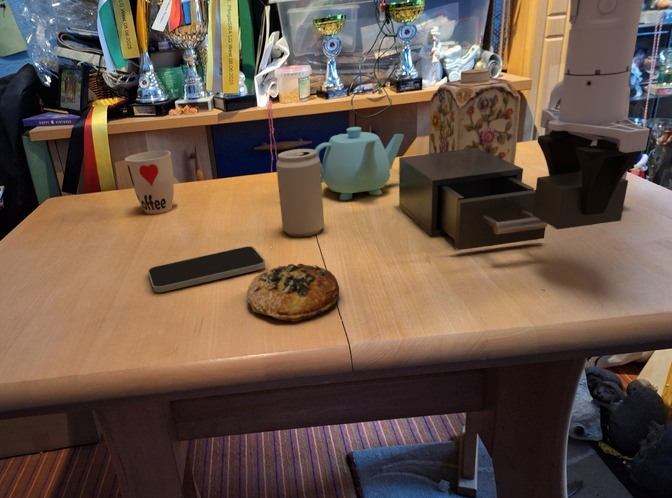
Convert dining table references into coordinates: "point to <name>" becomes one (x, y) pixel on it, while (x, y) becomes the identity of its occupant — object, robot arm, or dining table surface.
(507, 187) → the dark drawer box
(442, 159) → the small drawer cabinet
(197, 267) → the smartphone
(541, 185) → the rectangular block
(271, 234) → the dining table surface
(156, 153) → the cup
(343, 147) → the teapot
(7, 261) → the dining table surface
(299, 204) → the beverage can
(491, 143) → the decorative jar
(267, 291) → the bread roll
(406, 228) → the dining table surface
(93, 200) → the dining table surface
